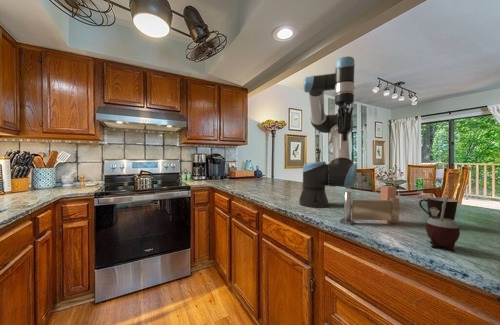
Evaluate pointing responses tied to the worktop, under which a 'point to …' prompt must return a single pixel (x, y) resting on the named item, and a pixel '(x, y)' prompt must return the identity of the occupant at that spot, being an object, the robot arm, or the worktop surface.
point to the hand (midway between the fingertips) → (343, 148)
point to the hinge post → (347, 209)
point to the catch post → (387, 195)
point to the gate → (376, 209)
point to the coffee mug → (440, 207)
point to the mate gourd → (442, 231)
